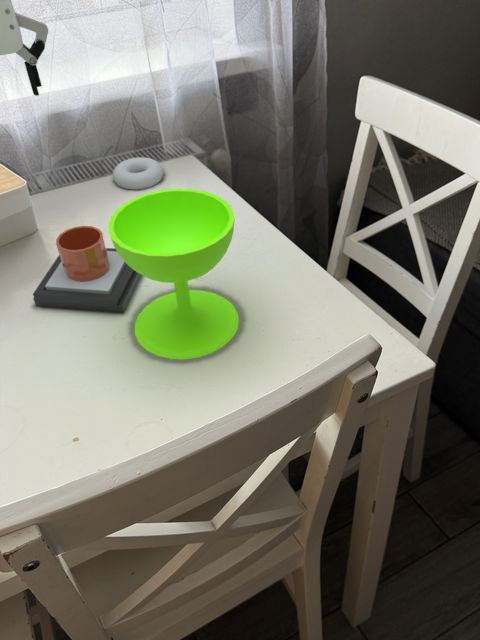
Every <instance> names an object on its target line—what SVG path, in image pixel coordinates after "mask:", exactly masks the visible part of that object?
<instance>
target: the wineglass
mask: <svg viewBox="0 0 480 640" xmlns="http://www.w3.org/2000/svg"><path fill="white" fill-rule="evenodd" d="M235 218H236V216H235V213H234V209H233V208H232V206H231V205H230V203H228V201H226V200H225V199H223V198H221V197H220V196H219V195H216V194H214V193H211V192H208V191H205V190H200V189H193V188H169V189H159V190H156V191H155V190H154V191H152V192H147V193H144V194H141V195H138V196H136V197H134V198H132V199H129V200H128V201H127V202H125V203H123V204H122V205H120V206H119V207H118V208H117V209H116V210H115V211H114V212H113V213H112V215H111V217H110V218H109V221H108V227H107V232H108V234H109V236H110V239H111V242H112V244H113V247H114V249H116V251H117V253H118V254H119V255H120V256H121V258H122V259H123V260H124V261H125V262H126V264H127V265H129V266H130V267H131V268H132V269H133V270H135V271H136V272H138V273H140V274H141V275H142V276H143V277H145V278H147V279H149V280H151V281H155V282H160V283H169V284H173V285H174V291H173V292H170V293H167V294H163V295H161V296H159V297H157V298H156V299H154V300H152V301H151V302H149V303H148V304H147V305H145V306H144V307H143V308H142V310H141V311H140V313H138V315H137V318H136V319H135V321H134V336H135V338H136V340H137V343H138V344H139V345H141V347H143V349H145V351H147V352H149V353H151V354H153V355H154V356H157V357H161V358H165V359H170V360H189V359H197V358H200V357H204V356H207V355H210V354H213V353H215V352H216V351H218V350H220V349H221V348H223V347H225V346H226V345H227V344H228V343H229V342H230V341H231V340H232V339H233V337H234V336H235V335H236V333H237V331H238V328H239V324H240V318H239V314H238V311H237V308H235V306H234V304H233V303H231V302H230V301H229V300H228V299H226V298H225V297H224V296H222V295H219V294H217V293H214V292H211V291H206V290H202V289H201V290H198V289H190V287H189V281H191V280H196V279H198V278H200V277H202V276H204V275H206V274H208V273H209V272H210V271H212V270H213V269H214V268H216V266H217V265H218V264H219V263H220V262H221V261H222V259H223V258H224V256H225V255H226V254H227V251H228V249H229V247H230V244H231V242H232V240H233V237H234V236H233V235H234V231H235V230H234V229H235Z"/></svg>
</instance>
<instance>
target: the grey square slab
mask: <svg viewBox="0 0 480 640" xmlns="http://www.w3.org/2000/svg"><path fill="white" fill-rule="evenodd" d="M107 253H108V257H109V263H110V268H109V270H108V272H107V273H106V274H105V275H103V276H102V277H100V278H98V279H95V280H92V281H85V282H80V281H74V280H72V279H70V278H68V277H67V275H66V273H65V271H64V268H63V265H62V262H61V263H60V264H59V266H58V267H57V269H56V270H55V272H54V273H53V275H52V276H51V278H50V279H49V281H48V282H47V284H46V285H45V287H46V290H52V291H66V292H79V293H93V294H106V295H111V293H112V291H113V289H114V287H115V285H116V283H117V281H118V279H119V277H120V276H121V274H122V272H123V270H124V268H125V266H126V262H125V261H124V260H123V259H122V258H121V256H120V255H119V254H118V253H117V252H116V251H107Z"/></svg>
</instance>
